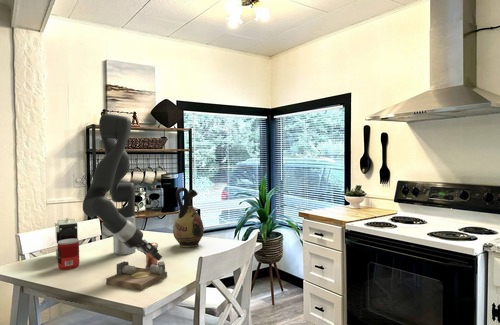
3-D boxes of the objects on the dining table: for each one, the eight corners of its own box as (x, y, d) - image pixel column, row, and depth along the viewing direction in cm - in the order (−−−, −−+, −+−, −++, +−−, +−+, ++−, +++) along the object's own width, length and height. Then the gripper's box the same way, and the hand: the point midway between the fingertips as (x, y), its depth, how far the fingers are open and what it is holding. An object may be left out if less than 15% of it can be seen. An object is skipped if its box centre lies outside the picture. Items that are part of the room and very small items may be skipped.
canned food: (83, 264, 147) (83, 239, 147) (68, 270, 139) (67, 243, 139) (69, 263, 149) (69, 237, 149) (53, 269, 142) (53, 242, 141)
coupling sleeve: (142, 269, 139) (142, 244, 139) (151, 266, 144) (150, 242, 144) (152, 271, 137) (152, 246, 137) (160, 267, 142) (160, 243, 142)
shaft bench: (106, 284, 124) (105, 268, 124) (134, 271, 137) (134, 257, 137) (143, 290, 117) (143, 274, 117) (169, 277, 130) (169, 262, 130)
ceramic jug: (191, 240, 188) (191, 185, 188) (210, 245, 177) (209, 186, 177) (164, 246, 176) (163, 187, 175) (182, 251, 165) (181, 189, 165)
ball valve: (54, 253, 164) (54, 216, 164) (75, 251, 169) (74, 214, 169) (56, 263, 149) (55, 222, 149) (78, 260, 153) (77, 220, 153)
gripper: (143, 227, 130) (170, 252, 139) (125, 222, 140) (151, 246, 149) (130, 244, 126) (159, 268, 135) (112, 238, 136) (140, 261, 145)
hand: (155, 256), depth 142 cm, fingers open, 6 cm apart
